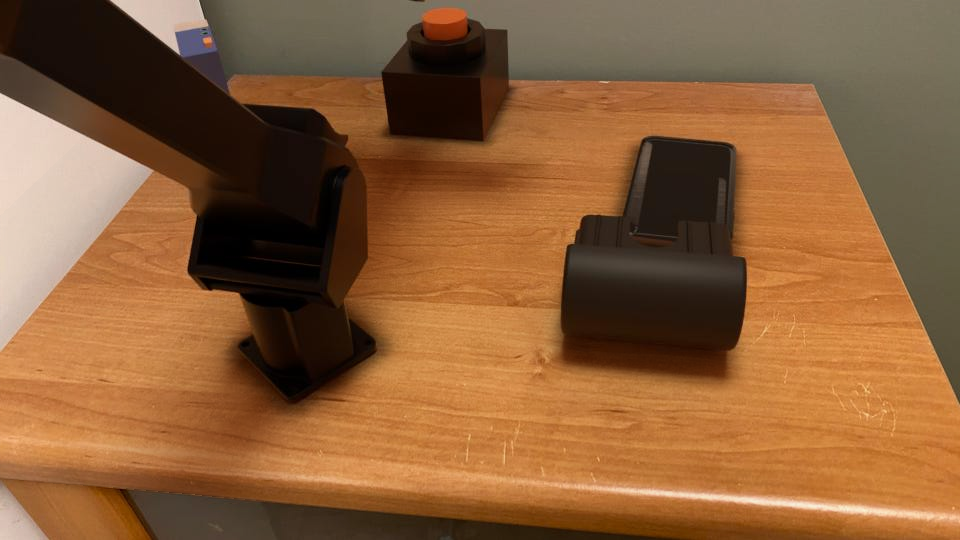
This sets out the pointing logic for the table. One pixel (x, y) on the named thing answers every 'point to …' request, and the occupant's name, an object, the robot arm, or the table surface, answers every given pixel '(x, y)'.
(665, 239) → the phone
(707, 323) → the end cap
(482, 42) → the push button base
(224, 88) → the walkman
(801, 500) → the table surface
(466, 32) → the orange push button
